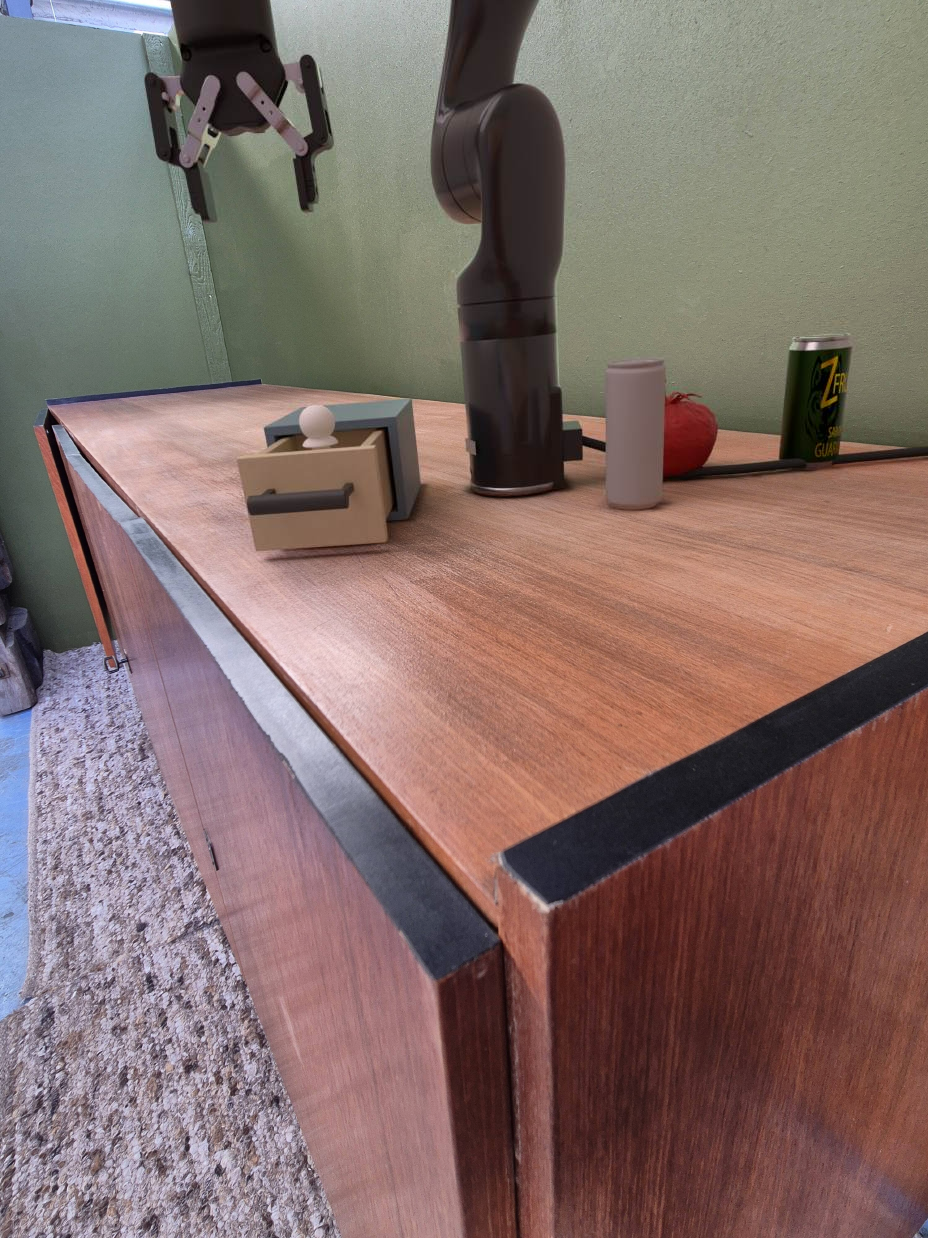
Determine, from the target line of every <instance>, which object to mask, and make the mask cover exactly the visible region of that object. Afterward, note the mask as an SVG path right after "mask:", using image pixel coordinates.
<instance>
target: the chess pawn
mask: <svg viewBox="0 0 928 1238" xmlns="http://www.w3.org/2000/svg"><path fill="white" fill-rule="evenodd" d="M306 407H307V408H305V409H304V410H303V411H302V413H301V415H300V418H299V425H300V428H301V431H302V432H303V434H304V435H305V436H307V437H308V439H307V440H306V441H305V442H304V443H303V447H305V448H312V450H320V449H331V447H330V446H331V445H335V444H337V443H338V440H337V439H336V438H334V437H333V436H330V435H331V434H332V432H333V431H334V428H335V419H334V416H333V414H332V413H331V411H330V410H329V409H328V408H326V407H324V405H321V404H313V405H309V406H306Z"/></svg>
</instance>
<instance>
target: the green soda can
mask: <svg viewBox="0 0 928 1238" xmlns="http://www.w3.org/2000/svg"><path fill="white" fill-rule="evenodd" d="M850 338H852V333H843V332H842V333H820V334H819V333H817V334H807V335H798V336H793V337H792V339H791V340H792V343H791V344H790V346H789V348H788V355H787V365H786V374H785V387H784V398H783V407H782V417H781V418H782V419H781V428H780V429H781V431H780V440H779V451H778V460H786V459H796V458H799V459H802V460H804V461H805V462H806V463H807V466H806V467H805V468H795V469H794V470H796V471H797V470H799V471H818V470H826V469H830V468H833V467H834V466H835V465H832V462H833V461H834V460H835V458H836V456H837V455H839V454H840V450H841V449H840V447H841V441H842V432H843V425H844V424H843V423H844V416H845V407H846V400H847V392H848V385H849V375H850V368H851V360H852V353H853V352H852V351H853V344H852V340H851V339H850Z"/></svg>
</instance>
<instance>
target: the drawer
mask: <svg viewBox="0 0 928 1238" xmlns="http://www.w3.org/2000/svg"><path fill="white" fill-rule="evenodd" d="M330 436H333V437H334V438H336V439H337V440H338V443H337V444H335V445H331V446H330V447H331V449H320V450H312V448H305V447H303V443H304V442H305V441H306V440H307V439H308V437H307V436H305V435H304V434H291V435H287V436H285V437H283V438H282V439H280V440H279V441H277V442H275V443H274V444H272V445H271V446H269V447H267V446H266V448H264V449H262V450H261V451H259V452H258V453H256V454H247V455H241V456H238V457H237V458H236V463H237V468H238V472H239V473H238V474H239V477H240V482H241V487H242V492H243V498H244V503H245V506H246V512H247V515H248V520H249V521H248V522H249V527H250V531H251V535H252V540H253V544H254V549H255V550H254V551H255V552H267V551H269V552H270V551H280V550H281V551H282V550H296V549H297V550H298V549H309V548H310V549H311V548H324V547H336V546H337V547H338V546H352V545H353V546H354V545H366V544H367V545H368V544H378V543H379V544H381V543H387V541H388V539H389V533H388V527H387V521H386V519H387V517H388V515H389V512H390V510H391V508H392V506H393V504H394V502H395V500H396V496H395V488H394V480H393V472H392V464H391V455H390V447H389V439H388V431H387V427H378V428H366V429H353V430H341V431H333V432H332V434H331V435H330Z"/></svg>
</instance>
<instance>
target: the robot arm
mask: <svg viewBox="0 0 928 1238" xmlns="http://www.w3.org/2000/svg"><path fill="white" fill-rule="evenodd" d="M539 2H540V0H450V4H449V14H448V25H447V33H446V41H445V46H444V47H445V48H444V53H443V60H442V64H441V65H442V67H441V72H440V76H439V77H440V78H439V83H438V88H437V95H436V101H435V108H434V112H433V113H434V114H433V119H432V123H431V124H432V126H431V130H430V131H431V132H430V141H429V153H428V154H429V155H428V162H429V164H428V165H429V166H428V167H429V174H430V180H431V185H432V188H433V192H434V195H435V198H436V199H437V200H436V201H437V202H438V204H439V206H440V207H441V209H442V210H443V212H444V213H445V214H446V215H447V216H448V217H449V218H450V219H451V220H453V221H454V222H456V223H458V224H460V225H463V226H478V225H480V239H479V243H478V245H477V248H476V250H475V252H474V254H473V257H471V259H470V260H469V261H468V262H467V264H466V265H465V266H463V267H462V269H461V270H460V271H459V272H458V273H457V276H456V280H455V292H456V293H455V294H456V304H457V317H458V318H457V319H458V331H459V341H460V356H461V368H462V381H463V394H464V395H463V396H464V408H465V420H466V433H467V437H465V438H464V440H465V441H464V442H465V451H466V452H467V453H468V458H469V474H470V481H469V483H470V489H471V491H473V492H474V493H477V494H480V495H485V496H494V497H514V496H515V497H516V496H525V495H526V496H527V495H533V494H540V493H545V492H549V491H551V490H560V489H565V487H566V486H565V462H580V461H583V460H584V447H585V448H588V449H592V450H596V451H600V452H602V453H605V454H606V441H603V440H600V439H596V438H592V437H589V436H586V435H583V427H582V425H581V424H580V421H579V420H566V421H565V420H564V415H563V389H562V386H561V385H560V364H559V363H560V362H559V359H560V358H559V333H558V332H559V327H558V326H559V325H558V324H559V323H558V298H557V296H558V288H557V287H558V285H557V284H558V278H559V274H560V271H561V268H562V265H563V262H564V261H563V260H564V254H565V242H566V241H565V239H566V238H565V237H566V234H565V233H566V232H565V231H566V195H567V194H566V193H567V192H566V191H567V190H566V189H567V160H566V147H565V140H564V139H565V138H564V133H563V129H562V126H561V122H560V118H559V115H558V114H557V111H556V109H555V107H554V105H553V103H552V101H551V100H550V98H548V96H547V95H546V94H545V93H544V92H543V91H542V90H540V89H539V88H538V87H537V86H535V85H532V84H528V83H524V82H517V83H515V78H516V71H517V66H518V60H519V56H520V53H521V49H522V47H523V46H522V45H523V42H524V39H525V36H526V33H527V31H528V28H529V25H530V23H531V20H532V18H533V15H534V13H535V12H536V9H537V6H538V4H539ZM169 3H170V8H171V13H172V19H173V24H174V30H175V33H176V38H177V44H178V49H179V53H180V58H181V70H180V73H179V75H170V76H169V75H168V76H160V75H159V74H156V73H155V72H151V71H150V72H147V73H146V74H145V75H144V79H143V80H144V87H145V88H144V89H145V93H146V94H145V95H146V100H147V105H148V111H149V117H150V123H151V124H150V125H151V130H152V135H153V142H154V148H155V153H156V156H157V158H158V159H159V160H160V161H162V162H164V163H167V164H168V165H171V166H173V167H177V168H180V169H182V171H183V173H184V176H185V179H186V185H187V189H188V190H187V191H188V195H189V199H190V205H191V208H192V210H193V212H194V213H195V214H196V215H198V216H200V219H201V221H202V222H205V223H207V224H213V223H217V222H218V215H217V209H216V205H215V200H214V195H213V189H212V185H211V179H210V175H209V174H210V173H209V172H206V171H205V168H206V165H207V162H208V160H209V158H210V155H211V153H212V151H213V150H214V149H215V148H216V147H217V145H218V142H219V140H220V137H221V135H222V134H223V135H225V136H227V137H238V136H240V135H242V134H244V133H252V134H256V135H258V134H266V131H267V130H268V129H269V128H270V127H272V128H273V129H274V130H275V131H276V133H278V135H279V136H280V137H281V138H282V139H283V140H284V142H285V143H286V144H287V145H288V146H289V148H290V149H291V150H292V151H293V153H294V155H295V158H294V157H293V158H292V162H293V170H294V175H295V182H296V183H295V184H296V190H297V194H298V196H297V197H298V203H299V207H300V210H301V212H303V213H305V214H307V213H314V211H315V208H314V205H318V204H319V199H320V193H319V186H318V185H319V184H318V177H317V173H316V165H315V162H316V158H317V157H318V155H320V154H322V153H324V152H325V151H330V150H332V149H333V147H334V146H335V145H334V144H335V140H334V135H333V130H332V129H333V128H332V123H331V118H330V112H329V106H328V101H327V97H326V91H325V86H324V82H323V75H322V70H321V67H320V66H319V65H318V63H317V62H316V60H315V58H314V57H313V56H312V55H311V54H306V53H305V54H303V55H301V56H300V59H299V61H294V62H289V63H284V64H283V62H282V60H281V58H280V54H279V49H278V42H277V36H276V29H275V23H274V16H273V9H272V4H271V0H169ZM290 82H291V83H293V84H294V86H295V89H296V90H297V92H298V93H299V94H300V95H302V97H303V96H304V97H305V100H306V105H307V110H308V116H309V121H310V126H311V130H312V132H311V133H308V134H307V135H305V136H303V135H302V134H301V132H299V130H298V129H297V128H296V126H295V125H294V124H293V122H292V121H291V120H290V119H289V118H288V117H287V115H286V113H284V111H283V110H282V109H281V108H280V106H281V104H282V101H283V99H284V97H285V94H286V91H287V89H288V86H289V83H290ZM183 95H185V96H186V98H188V99H189V101H190V102H191V103H192V104H193V105H194V107H195V108H194V111H193V113H192V115H191V117H190V121H189V123H188V125H187V136H186V138H185V140H184V143H183V145H182V148H181V142H180V136H179V129H178V123H177V116H176V111H177V110H178V109H179V108H180V105H181V97H183ZM921 457H922V458H923V457H928V445H925V446H914V447H913V446H912V447H902V448H894V449H882V450H873V451H872V450H871V451H862V452H849V453H839V455H837V456H836V458H835V460H834V461H833V462H832V465H834V466H836V465H847V464H858V463H866V462H867V463H869V462H877V461H879V462H880V461H888V460H899V459H910V458H911V459H912V458H921ZM806 466H807V463H806V462H805V461H804V460H802V459H799V458H796V459H786V460H779V459H778V460H777V459H776V460H769V461H759V462H748V463H736V464H724V465H723V464H720V465H719V464H718V465H708V466H703V467H699V468H696V469H693V470H691V471H689V472H687V473H684V474H680V475H677V476H673V477H667V478H663V481H680V480H681V481H683V480H691V479H697V478H704V477H715V476H716V477H717V476H733V475H744V474H754V473H763V472H764V473H765V472H773V471H784V470H796V469H795V468H805V467H806Z"/></svg>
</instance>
